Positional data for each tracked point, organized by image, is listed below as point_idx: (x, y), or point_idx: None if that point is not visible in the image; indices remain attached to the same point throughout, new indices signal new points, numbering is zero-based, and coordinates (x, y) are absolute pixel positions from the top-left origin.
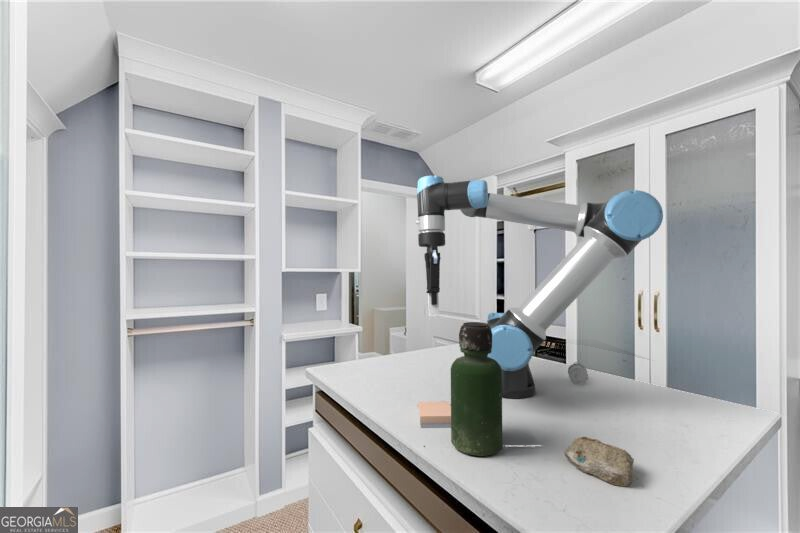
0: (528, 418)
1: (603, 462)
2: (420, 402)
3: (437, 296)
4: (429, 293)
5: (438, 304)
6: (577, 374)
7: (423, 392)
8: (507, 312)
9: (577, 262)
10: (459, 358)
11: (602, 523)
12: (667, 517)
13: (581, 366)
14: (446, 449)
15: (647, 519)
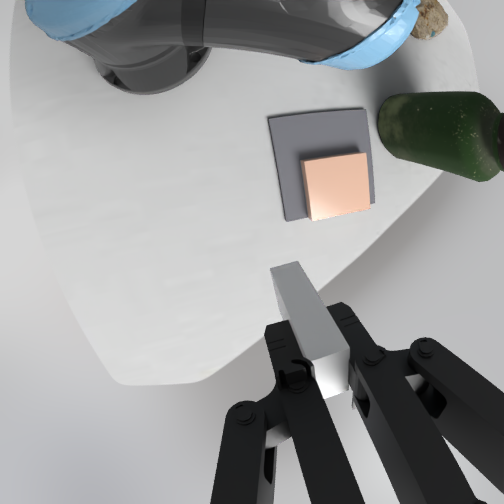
0: None
1: (445, 25)
2: (315, 216)
3: (339, 335)
4: (347, 386)
5: (318, 297)
6: None
7: (205, 221)
8: None
9: None
10: (491, 169)
11: (474, 67)
12: (459, 21)
13: None
14: (414, 166)
15: (464, 35)
